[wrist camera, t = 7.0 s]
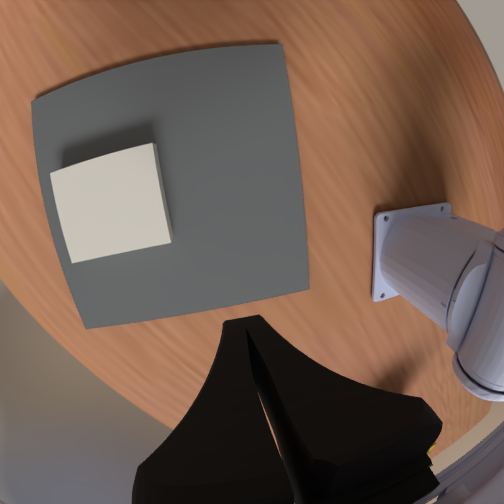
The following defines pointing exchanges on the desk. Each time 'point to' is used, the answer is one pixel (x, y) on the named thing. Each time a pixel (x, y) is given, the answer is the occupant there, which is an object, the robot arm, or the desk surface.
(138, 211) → the tile
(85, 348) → the desk surface
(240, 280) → the mat
